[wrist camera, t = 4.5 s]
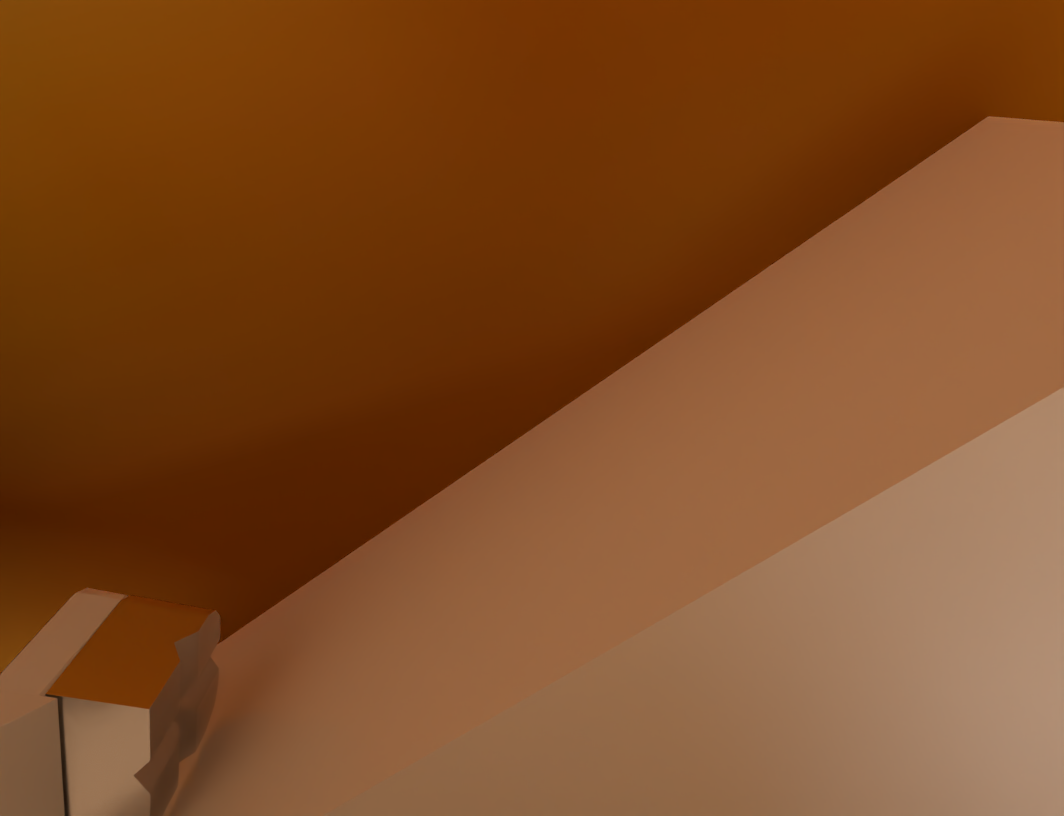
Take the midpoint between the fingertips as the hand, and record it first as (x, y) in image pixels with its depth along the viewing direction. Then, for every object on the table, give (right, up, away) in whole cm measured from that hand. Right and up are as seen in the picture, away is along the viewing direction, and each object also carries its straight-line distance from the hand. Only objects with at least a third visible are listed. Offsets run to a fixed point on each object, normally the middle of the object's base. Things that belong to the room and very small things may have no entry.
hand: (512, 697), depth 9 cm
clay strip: (0, +1, +2) cm, 2 cm away
